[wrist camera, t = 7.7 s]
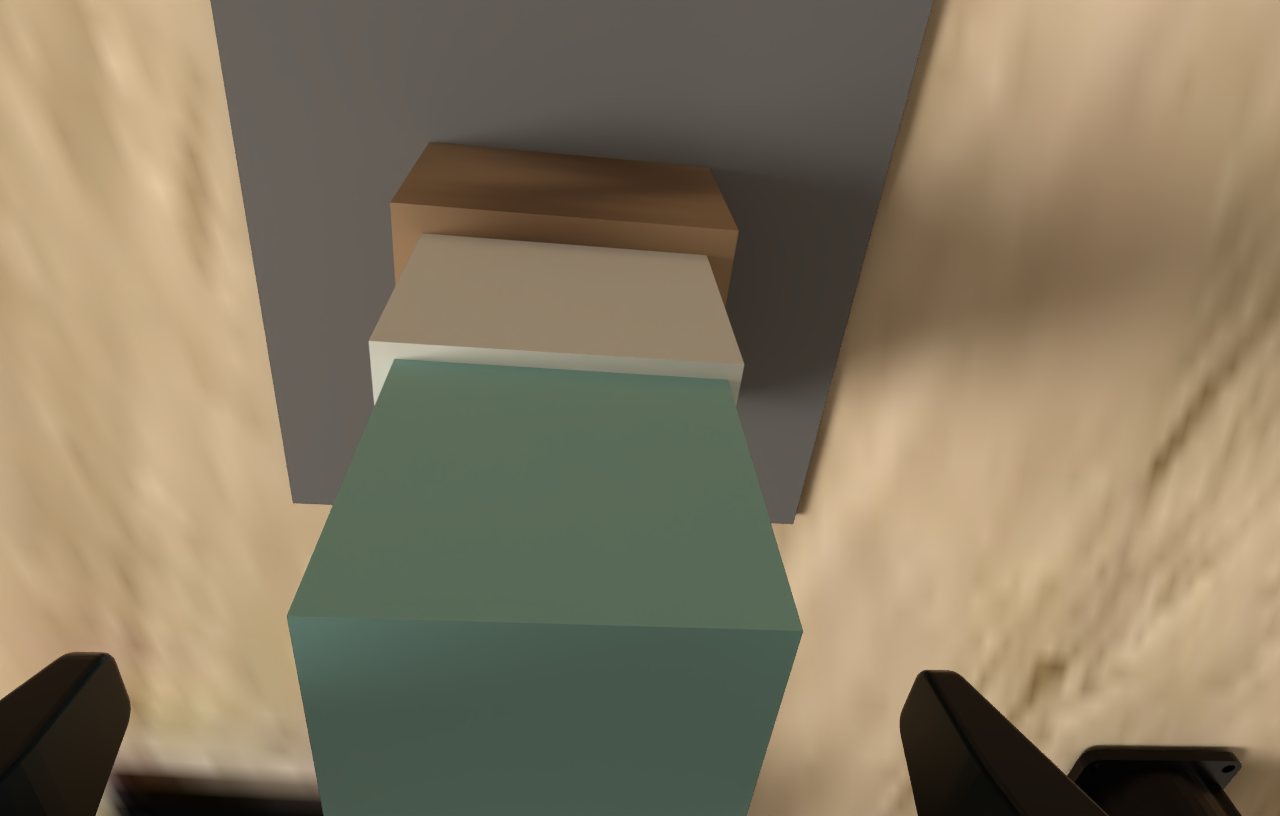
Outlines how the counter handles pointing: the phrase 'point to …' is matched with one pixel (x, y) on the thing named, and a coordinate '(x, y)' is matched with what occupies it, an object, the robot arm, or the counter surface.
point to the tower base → (563, 203)
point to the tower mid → (556, 310)
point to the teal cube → (544, 601)
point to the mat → (575, 125)
